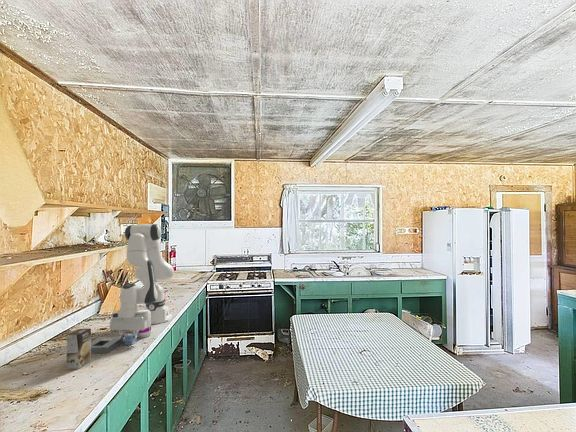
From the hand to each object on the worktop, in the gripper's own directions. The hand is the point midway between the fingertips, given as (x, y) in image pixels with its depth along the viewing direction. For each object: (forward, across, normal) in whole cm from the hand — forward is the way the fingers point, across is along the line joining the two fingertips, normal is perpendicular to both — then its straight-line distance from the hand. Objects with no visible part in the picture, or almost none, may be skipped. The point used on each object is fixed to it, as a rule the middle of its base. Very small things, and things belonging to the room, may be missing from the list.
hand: (128, 337), depth 190 cm
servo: (+3, -1, -1) cm, 3 cm away
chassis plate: (+3, +11, +7) cm, 13 cm away
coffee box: (+4, +9, +29) cm, 30 cm away
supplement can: (+3, -3, -12) cm, 12 cm away
